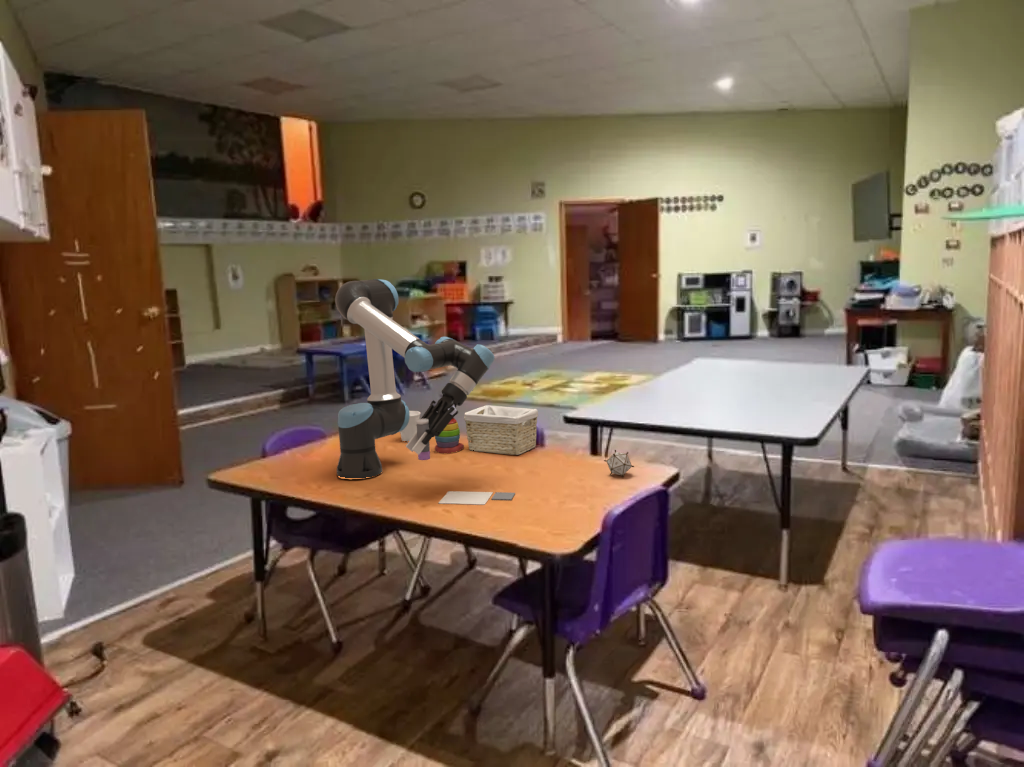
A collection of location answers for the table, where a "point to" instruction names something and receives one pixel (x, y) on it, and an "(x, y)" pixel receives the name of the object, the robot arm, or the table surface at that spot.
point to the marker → (421, 427)
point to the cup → (410, 426)
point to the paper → (466, 498)
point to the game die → (619, 463)
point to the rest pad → (503, 496)
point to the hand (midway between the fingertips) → (412, 450)
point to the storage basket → (501, 429)
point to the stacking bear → (449, 438)
